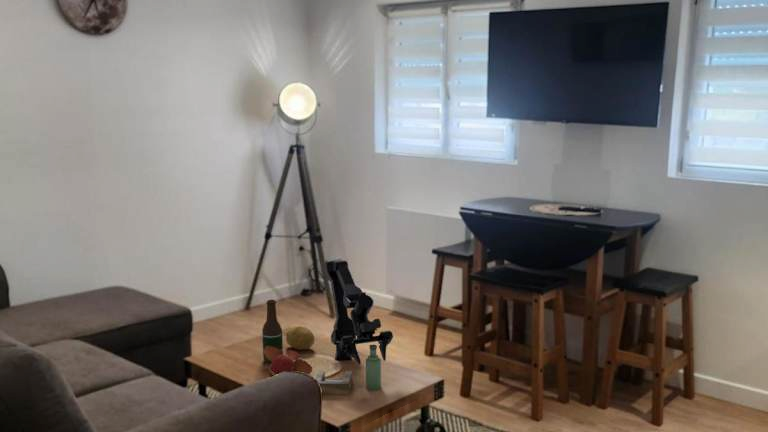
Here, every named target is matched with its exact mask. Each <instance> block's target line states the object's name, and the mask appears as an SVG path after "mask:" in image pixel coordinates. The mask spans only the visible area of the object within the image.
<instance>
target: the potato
mask: <svg viewBox="0 0 768 432" xmlns="http://www.w3.org/2000/svg"><path fill="white" fill-rule="evenodd" d="M285 341H286V343H287V344H288V346H290V347H291V348H293V349H295V350H297V351H298V350H300V351H304V350H307V349H310V348H311V347H312V346H313V345H314V344H315V335H314V334H313V332H312V330H310V329H309V328H308V327H305V326H302V325H298V326H294V327H292V328H289V330H287V332H286V335H285Z"/></svg>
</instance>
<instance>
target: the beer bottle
mask: <svg viewBox="0 0 768 432" xmlns="http://www.w3.org/2000/svg"><path fill="white" fill-rule="evenodd" d="M276 304H277V302H276V299H268V300H267V301H266V319H265V322H264V324H263V327H262V330H261V333H262V353H263V354H262V357H263V362H264V363H265V364H268V365H271V363H272V361H270V360H269V359H267V357H266V356H265V354H264V349H265V347H266V346H267V345H268V346H273V347H274V346H275V347H277V348H279V349H280V350H281V351H283V349H284V348H283V347H284V346H283V343H284V342H283V331H282V330H283V329H282V327H281V324H280V322H279V321H278V317H277V309H276V307H277V306H276ZM283 352H284V351H283Z"/></svg>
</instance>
